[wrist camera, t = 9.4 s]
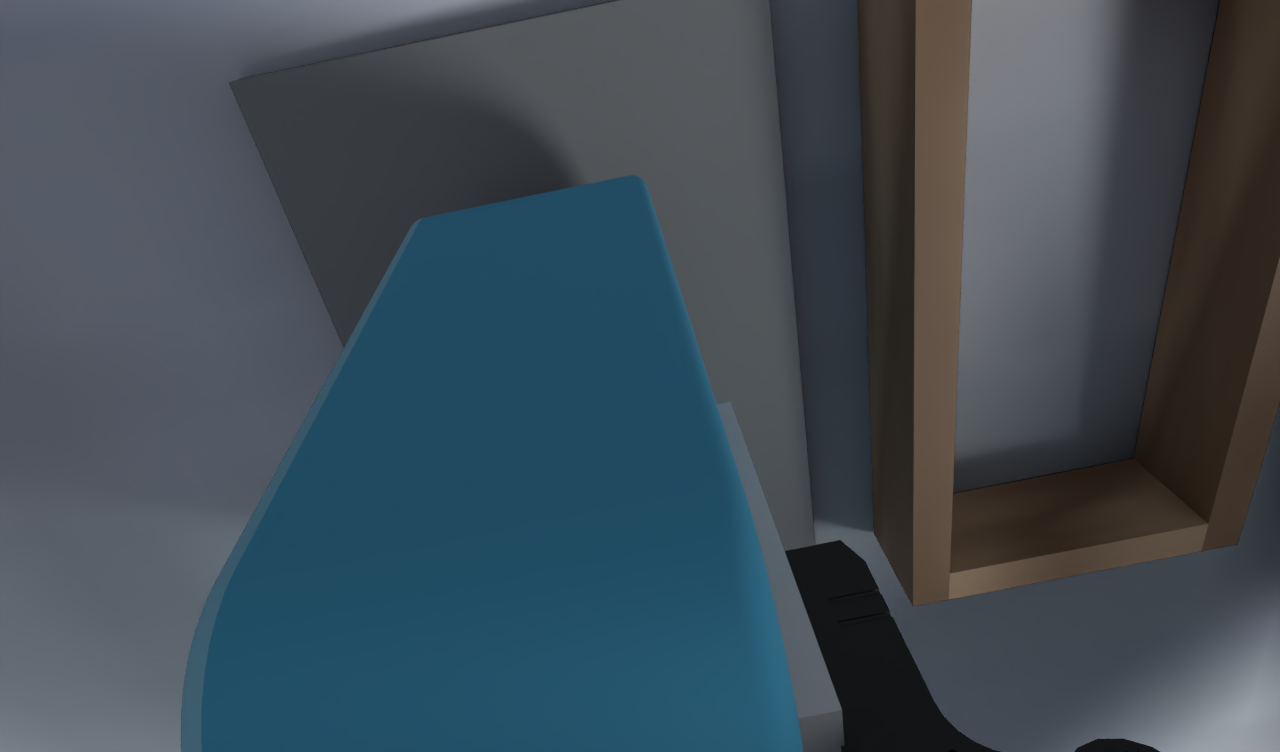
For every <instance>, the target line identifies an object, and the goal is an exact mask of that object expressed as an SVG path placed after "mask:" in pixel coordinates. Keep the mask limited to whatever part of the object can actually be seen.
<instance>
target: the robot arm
mask: <svg viewBox="0 0 1280 752" xmlns="http://www.w3.org/2000/svg"><path fill="white" fill-rule="evenodd" d="M717 407H718V410H719V413H720V416H721V419H722V422H723V425H724V428H725V432H726V435H727V438H728V441H729V444H730V447H731V450H732V454H733V457H734V460H735V463H736V466H737V469H738V472H739V475H740V479H741V482H742V485H743V488H744V491H745V494H746V498H747V501H748V504H749V507H750V511H751V514H752V518H753V521H754V525H755V528H756V532H757V535H758V539H759V543H760V547H761V550H762V554H763V558H764V562H765V566H766V570H767V574H768V578H769V582H770V586H771V590H772V595H773V599H774V603H775V607H776V612H777V616H778V620H779V625H780V629H781V634H782V639H783V643H784V648H785V652H786V657H787V662H788V667H789V672H790V677H791V682H792V687H793V692H794V698H795V703H796V709H797V714H798V720H799V726H800V732H801V739H802V745H803V752H999V751H995V750H992V749H990V748H987V747H985V746H983V745H980V744H978V743H976V742H974V741H972V740H971V739H969V738H968V737H966V736H965V735H964V734H962V733H961V732H959V731H958V730H957V729H956V728H955V727H954V726H953V725H952V724H951V723H950V722H949V721H948V720H947V719H946V718H945V717H944V716H943V715H942V713H941V712H940V710H939V708H938V707H937V705H936V704H935V702H934V700H933V698H932V696H931V694H930V692H929V690H928V688H927V686H926V684H925V682H924V680H923V678H922V676H921V674H920V672H919V670H918V668H917V666H916V664H915V662H914V660H913V658H912V655H911V653H910V651H909V649H908V647H907V645H906V643H905V641H904V639H903V637H902V635H901V633H900V631H899V629H898V627H897V625H896V623H895V621H894V619H893V617H891V615H890V611H889V609H888V607H887V605H886V603H885V601H884V599H883V597H882V595H881V594H880V593H879V588H878V586H877V584H876V582H875V580H874V578H873V576H872V574H871V572H870V570H869V568H868V566H867V564H866V562H865V561H864V560H863V559H862V558H861V557H859V556H858V555H857V554H856V553H855V552H854V551H852V550H851V549H850V548H849V547H848V546H846V545H845V544H844V543H843V542H842V541H841V540H839V541H834V542H829V543H824V544H818V545H813V546H808V547H803V548H798V549H792V550H787V551H784V548H783V546H782V543H781V540H780V537H779V534H778V532H777V529H776V526H775V523H774V521H773V518H772V515H771V512H770V510H769V507H768V504H767V501H766V499H765V496H764V493H763V490H762V488H761V485H760V482H759V479H758V476H757V474H756V471H755V468H754V465H753V463H752V460H751V457H750V454H749V452H748V449H747V446H746V443H745V441H744V438H743V435H742V432H741V430H740V427H739V424H738V421H737V418H736V416H735V413H734V410H733V407H732V405H731V402H726V403H721V404H717ZM1075 752H1160V751H1158V750H1156V749H1154V748H1153V747H1150V746H1147V745H1143V744H1140V743H1136V742H1133V741H1129V740H1126V739H1096V740H1094V741H1092V742H1090V743H1087V744H1085V745H1083V746H1080V747H1078V748H1077V749H1076V751H1075Z"/></svg>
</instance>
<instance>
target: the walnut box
mask: <svg viewBox="0 0 1280 752" xmlns="http://www.w3.org/2000/svg"><path fill="white" fill-rule="evenodd" d="M971 12H972V0H858V27H859V59H860V92H861V125H862V157H863V190H864V222H865V255H866V288H867V320H868V353H869V385H870V418H871V451H872V483H873V516H874V535H875V536H876V538H877V540H878V542H879V544H880V546H881V548H882V550H883V551H884V553H885V555H886V557H887V559H888V561H889V563H890V564H891V566H892V568H893V570H894V572H895V574H896V576H897V578H898V579H899V581H900V583H901V585H902V587H903V589H904V591H905V593H906V594H907V596H908V598H909V600H910V602H911V604H912V606H919V605H924V604H929V603H934V602H940V601H945V600H950V599H955V598H960V597H966V596H971V595H976V594H981V593H987V592H992V591H997V590H1002V589H1007V588H1013V587H1018V586H1023V585H1028V584H1034V583H1039V582H1044V581H1049V580H1054V579H1060V578H1065V577H1070V576H1075V575H1081V574H1086V573H1091V572H1096V571H1101V570H1107V569H1112V568H1117V567H1122V566H1127V565H1133V564H1138V563H1143V562H1148V561H1154V560H1159V559H1164V558H1169V557H1174V556H1180V555H1185V554H1190V553H1195V552H1201V551H1206V550H1211V549H1216V548H1221V547H1227V546H1232V545H1237V544H1238V541H1239V538H1240V535H1241V531H1242V528H1243V525H1244V521H1245V518H1246V515H1247V511H1248V508H1249V504H1250V501H1251V498H1252V494H1253V491H1254V488H1255V484H1256V481H1257V478H1258V474H1259V471H1260V468H1261V464H1262V461H1263V458H1264V454H1265V451H1266V448H1267V444H1268V441H1269V437H1270V434H1271V431H1272V427H1273V424H1274V421H1275V417H1276V414H1277V411H1278V407H1279V404H1280V0H1220V5H1219V10H1218V15H1217V21H1216V26H1215V31H1214V36H1213V42H1212V47H1211V52H1210V57H1209V63H1208V68H1207V73H1206V79H1205V84H1204V89H1203V94H1202V100H1201V105H1200V110H1199V116H1198V121H1197V126H1196V131H1195V137H1194V142H1193V147H1192V153H1191V158H1190V163H1189V168H1188V174H1187V179H1186V184H1185V190H1184V195H1183V200H1182V205H1181V211H1180V216H1179V221H1178V226H1177V232H1176V237H1175V242H1174V248H1173V253H1172V258H1171V263H1170V269H1169V274H1168V279H1167V285H1166V290H1165V295H1164V300H1163V306H1162V311H1161V316H1160V322H1159V327H1158V332H1157V337H1156V343H1155V348H1154V353H1153V359H1152V364H1151V369H1150V374H1149V380H1148V385H1147V390H1146V395H1145V401H1144V406H1143V411H1142V417H1141V422H1140V427H1139V432H1138V438H1137V443H1136V448H1135V454H1134V459H1129V460H1124V461H1119V462H1113V463H1108V464H1103V465H1098V466H1093V467H1088V468H1083V469H1077V470H1072V471H1067V472H1062V473H1057V474H1052V475H1047V476H1041V477H1036V478H1031V479H1026V480H1021V481H1016V482H1011V483H1005V484H1000V485H995V486H990V487H985V488H980V489H975V490H969V491H964V492H959V493H954V494H953V478H954V452H955V426H956V400H957V374H958V348H959V322H960V297H961V271H962V245H963V219H964V193H965V167H966V141H967V115H968V90H969V64H970V38H971Z"/></svg>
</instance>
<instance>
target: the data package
mask: <svg viewBox="0 0 1280 752" xmlns="http://www.w3.org/2000/svg"><path fill="white" fill-rule="evenodd" d="M181 752H803V745H802V739H801V732H800V726H799V720H798V714H797V709H796V703H795V698H794V692H793V687H792V682H791V677H790V672H789V667H788V662H787V657H786V652H785V648H784V643H783V639H782V634H781V629H780V625H779V620H778V616H777V612H776V607H775V603H774V599H773V595H772V590H771V586H770V582H769V578H768V574H767V570H766V566H765V562H764V558H763V554H762V550H761V547H760V543H759V539H758V535H757V532H756V528H755V525H754V521H753V518H752V514H751V511H750V507H749V504H748V501H747V498H746V494H745V491H744V488H743V485H742V482H741V479H740V475H739V472H738V469H737V466H736V463H735V460H734V457H733V454H732V450H731V447H730V444H729V441H728V438H727V435H726V432H725V428H724V425H723V422H722V419H721V416H720V413H719V410H718V407H717V403H716V400H715V397H714V394H713V391H712V388H711V385H710V381H709V378H708V375H707V372H706V369H705V366H704V363H703V360H702V356H701V353H700V350H699V347H698V344H697V341H696V338H695V335H694V331H693V328H692V325H691V322H690V319H689V316H688V313H687V309H686V306H685V303H684V300H683V297H682V294H681V291H680V288H679V284H678V281H677V278H676V275H675V272H674V269H673V266H672V262H671V259H670V256H669V253H668V250H667V247H666V244H665V241H664V237H663V234H662V231H661V228H660V225H659V222H658V219H657V216H656V212H655V209H654V206H653V203H652V200H651V197H650V194H649V190H648V188H647V185H646V183H645V182H644V180H643V179H641V178H640V177H638V176H635V175H629V176H624V177H619V178H615V179H610V180H605V181H600V182H595V183H590V184H585V185H580V186H575V187H571V188H566V189H561V190H556V191H551V192H546V193H541V194H536V195H531V196H527V197H522V198H517V199H512V200H507V201H502V202H497V203H492V204H487V205H483V206H478V207H473V208H468V209H463V210H458V211H453V212H448V213H443V214H439V215H434V216H429V217H424V218H421V219H419V220H417V221H416V222H415V223H414V224H413V225H412V226H411V228H410V229H409V231H408V233H407V235H406V237H405V238H404V240H403V242H402V244H401V246H400V248H399V249H398V251H397V253H396V255H395V257H394V258H393V260H392V262H391V264H390V266H389V267H388V269H387V271H386V273H385V275H384V277H383V278H382V280H381V282H380V284H379V286H378V287H377V289H376V291H375V293H374V295H373V297H372V298H371V300H370V302H369V304H368V306H367V307H366V309H365V311H364V313H363V315H362V317H361V318H360V320H359V322H358V324H357V326H356V327H355V329H354V331H353V333H352V335H351V336H350V338H349V340H348V342H347V344H346V346H345V347H344V349H343V351H342V353H341V355H340V356H339V358H338V360H337V362H336V364H335V366H334V367H333V369H332V371H331V373H330V375H329V376H328V378H327V380H326V382H325V384H324V385H323V387H322V389H321V391H320V393H319V395H318V396H317V398H316V400H315V402H314V404H313V405H312V407H311V409H310V411H309V413H308V415H307V416H306V418H305V420H304V422H303V424H302V425H301V427H300V429H299V431H298V433H297V435H296V436H295V438H294V440H293V442H292V444H291V445H290V447H289V449H288V451H287V453H286V454H285V456H284V458H283V460H282V462H281V464H280V465H279V467H278V469H277V471H276V473H275V474H274V476H273V478H272V480H271V482H270V484H269V485H268V487H267V489H266V491H265V493H264V494H263V496H262V498H261V500H260V502H259V503H258V505H257V507H256V509H255V511H254V513H253V514H252V516H251V518H250V520H249V522H248V523H247V525H246V527H245V529H244V531H243V533H242V534H241V536H240V538H239V540H238V542H237V543H236V545H235V547H234V549H233V551H232V553H231V554H230V556H229V558H228V560H227V562H226V563H225V565H224V567H223V569H222V571H221V572H220V574H219V576H218V578H217V580H216V582H215V584H214V586H213V588H212V590H211V592H210V594H209V596H208V598H207V600H206V602H205V605H204V608H203V610H202V613H201V616H200V619H199V621H198V624H197V627H196V630H195V634H194V638H193V641H192V645H191V649H190V653H189V657H188V663H187V669H186V675H185V680H184V688H183V699H182V710H181Z"/></svg>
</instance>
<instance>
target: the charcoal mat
mask: <svg viewBox="0 0 1280 752" xmlns="http://www.w3.org/2000/svg"><path fill="white" fill-rule="evenodd" d="M229 84H230V86H231V89H232V91H233V93H234V96H235V98H236V100H237V102H238V105H239V107H240V109H241V112H242V114H243V116H244V119H245V121H246V123H247V125H248V128H249V130H250V132H251V135H252V137H253V139H254V142H255V144H256V146H257V149H258V151H259V153H260V155H261V158H262V160H263V162H264V165H265V167H266V169H267V172H268V174H269V176H270V179H271V181H272V183H273V185H274V188H275V190H276V192H277V195H278V197H279V199H280V202H281V204H282V206H283V208H284V211H285V213H286V215H287V218H288V220H289V222H290V225H291V227H292V229H293V232H294V234H295V236H296V238H297V241H298V243H299V245H300V248H301V250H302V252H303V255H304V257H305V259H306V261H307V264H308V266H309V268H310V271H311V273H312V275H313V278H314V280H315V282H316V285H317V287H318V289H319V291H320V294H321V296H322V298H323V301H324V303H325V305H326V308H327V310H328V312H329V315H330V317H331V319H332V321H333V324H334V326H335V328H336V331H337V333H338V335H339V338H340V340H341V342H342V344H343V347H345V346H346V344H347V342H348V340H349V338H350V336H351V335H352V333H353V331H354V329H355V327H356V326H357V324H358V322H359V320H360V318H361V317H362V315H363V313H364V311H365V309H366V307H367V306H368V304H369V302H370V300H371V298H372V297H373V295H374V293H375V291H376V289H377V287H378V286H379V284H380V282H381V280H382V278H383V277H384V275H385V273H386V271H387V269H388V267H389V266H390V264H391V262H392V260H393V258H394V257H395V255H396V253H397V251H398V249H399V248H400V246H401V244H402V242H403V240H404V238H405V237H406V235H407V233H408V231H409V229H410V228H411V226H412V225H413V224H414V223H415V222H416V221H417V220H419V219H421V218H424V217H429V216H434V215H439V214H443V213H448V212H453V211H458V210H463V209H468V208H473V207H478V206H483V205H487V204H492V203H497V202H502V201H507V200H512V199H517V198H522V197H527V196H531V195H536V194H541V193H546V192H551V191H556V190H561V189H566V188H571V187H575V186H580V185H585V184H590V183H595V182H600V181H605V180H610V179H615V178H619V177H624V176H629V175H635V176H638V177H640V178H641V179H643V180H644V182H645V183H646V185H647V188H648V190H649V194H650V197H651V200H652V203H653V206H654V209H655V212H656V216H657V219H658V222H659V225H660V228H661V231H662V234H663V237H664V241H665V244H666V247H667V250H668V253H669V256H670V259H671V262H672V266H673V269H674V272H675V275H676V278H677V281H678V284H679V288H680V291H681V294H682V297H683V300H684V303H685V306H686V309H687V313H688V316H689V319H690V322H691V325H692V328H693V331H694V335H695V338H696V341H697V344H698V347H699V350H700V353H701V356H702V360H703V363H704V366H705V369H706V372H707V375H708V378H709V381H710V385H711V388H712V391H713V394H714V397H715V400H716V403H717V404H721V403H726V402H731V405H732V407H733V410H734V413H735V416H736V418H737V421H738V424H739V427H740V430H741V432H742V435H743V438H744V441H745V443H746V446H747V449H748V452H749V454H750V457H751V460H752V463H753V465H754V468H755V471H756V474H757V476H758V479H759V482H760V485H761V488H762V490H763V493H764V496H765V499H766V501H767V504H768V507H769V510H770V512H771V515H772V518H773V521H774V523H775V526H776V529H777V532H778V534H779V537H780V540H781V543H782V546H783V548H784V551H787V550H792V549H798V548H803V547H808V546H813V545H815V536H814V524H813V512H812V500H811V488H810V476H809V464H808V453H807V441H806V429H805V417H804V405H803V393H802V381H801V369H800V358H799V346H798V334H797V322H796V310H795V298H794V286H793V274H792V263H791V251H790V239H789V227H788V215H787V203H786V191H785V179H784V168H783V156H782V144H781V132H780V120H779V108H778V96H777V84H776V73H775V61H774V49H773V37H772V25H771V13H770V1H769V0H614V1H609V2H605V3H600V4H595V5H590V6H585V7H581V8H576V9H571V10H566V11H562V12H557V13H552V14H547V15H543V16H538V17H533V18H528V19H524V20H519V21H514V22H509V23H504V24H500V25H495V26H490V27H485V28H481V29H476V30H471V31H466V32H462V33H457V34H452V35H447V36H442V37H438V38H433V39H428V40H423V41H419V42H414V43H409V44H404V45H400V46H395V47H390V48H385V49H381V50H376V51H371V52H366V53H361V54H357V55H352V56H347V57H342V58H338V59H333V60H328V61H323V62H319V63H314V64H309V65H304V66H299V67H295V68H290V69H285V70H280V71H276V72H271V73H266V74H261V75H257V76H252V77H247V78H242V79H239V80H236V81H232V82H229Z"/></svg>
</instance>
